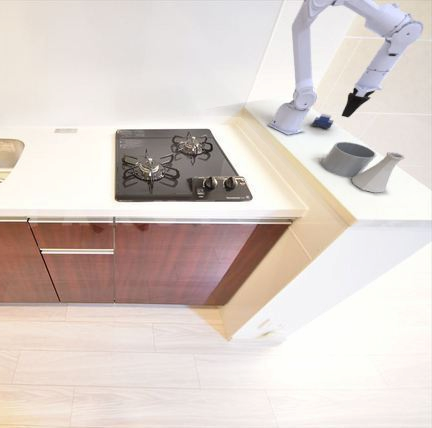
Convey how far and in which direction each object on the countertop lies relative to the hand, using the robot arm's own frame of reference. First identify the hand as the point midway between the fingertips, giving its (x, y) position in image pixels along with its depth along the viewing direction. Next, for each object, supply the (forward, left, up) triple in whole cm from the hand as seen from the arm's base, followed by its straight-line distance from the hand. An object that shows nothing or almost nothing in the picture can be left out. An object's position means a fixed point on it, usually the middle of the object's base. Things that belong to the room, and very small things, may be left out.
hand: (347, 113), depth 81 cm
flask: (+25, -20, -9) cm, 33 cm away
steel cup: (+16, -18, -9) cm, 26 cm away
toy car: (-8, +5, -9) cm, 13 cm away
